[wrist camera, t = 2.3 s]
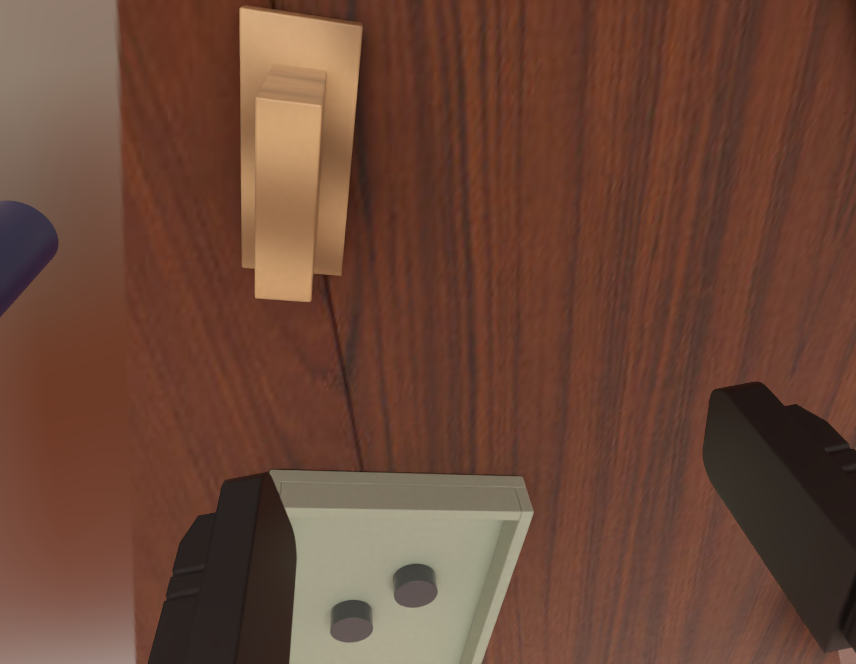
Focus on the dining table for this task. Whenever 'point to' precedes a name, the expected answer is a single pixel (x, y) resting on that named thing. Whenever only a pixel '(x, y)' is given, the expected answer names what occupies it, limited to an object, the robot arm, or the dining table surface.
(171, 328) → the dining table surface
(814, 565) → the robot arm
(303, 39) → the wooden board eraser
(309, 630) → the tray
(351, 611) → the pebble
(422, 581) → the pebble
